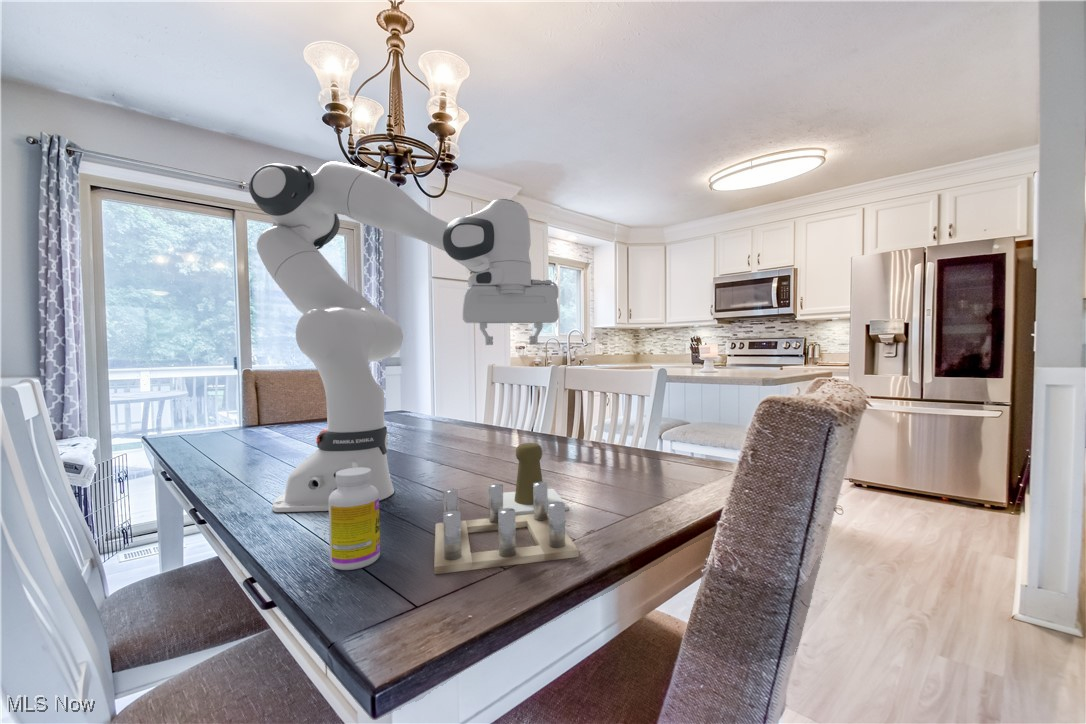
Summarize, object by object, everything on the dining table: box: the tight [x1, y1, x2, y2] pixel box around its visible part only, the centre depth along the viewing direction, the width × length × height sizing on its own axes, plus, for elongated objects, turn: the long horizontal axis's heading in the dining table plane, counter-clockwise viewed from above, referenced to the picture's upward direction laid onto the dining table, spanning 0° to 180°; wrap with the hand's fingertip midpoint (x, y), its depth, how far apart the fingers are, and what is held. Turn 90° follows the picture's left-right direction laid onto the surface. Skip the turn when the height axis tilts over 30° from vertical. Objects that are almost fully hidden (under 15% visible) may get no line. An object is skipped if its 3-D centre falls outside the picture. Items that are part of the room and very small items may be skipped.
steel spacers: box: [442, 480, 566, 560], centre depth 70 cm, size 17×15×6 cm
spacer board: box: [433, 513, 580, 575], centre depth 70 cm, size 20×16×1 cm
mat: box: [503, 488, 570, 516], centre depth 88 cm, size 12×12×1 cm
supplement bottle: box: [328, 467, 381, 571], centre depth 64 cm, size 7×7×13 cm
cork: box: [514, 442, 544, 505], centre depth 88 cm, size 6×6×11 cm
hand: (511, 344), depth 95 cm, fingers open, 8 cm apart
